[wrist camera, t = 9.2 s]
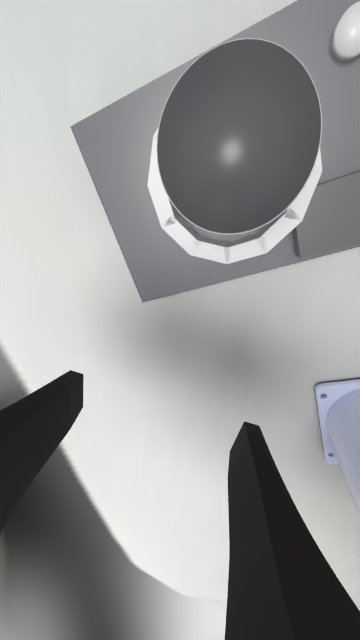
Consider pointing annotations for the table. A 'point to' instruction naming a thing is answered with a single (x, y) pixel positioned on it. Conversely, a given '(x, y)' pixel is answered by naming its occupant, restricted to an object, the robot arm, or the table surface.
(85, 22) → the table surface
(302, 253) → the camera body
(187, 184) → the lens
